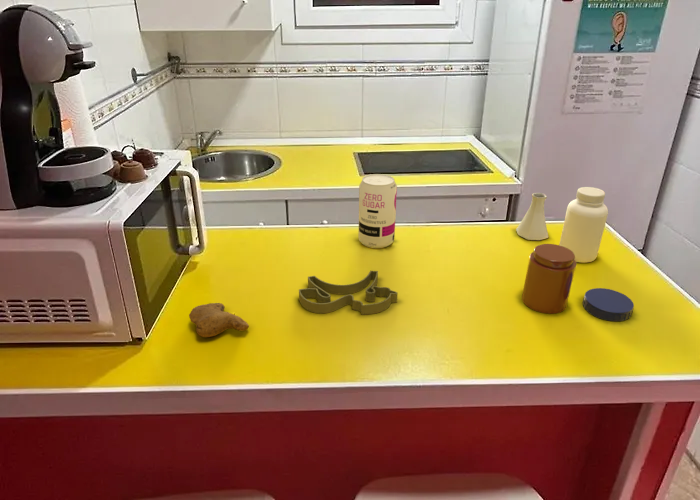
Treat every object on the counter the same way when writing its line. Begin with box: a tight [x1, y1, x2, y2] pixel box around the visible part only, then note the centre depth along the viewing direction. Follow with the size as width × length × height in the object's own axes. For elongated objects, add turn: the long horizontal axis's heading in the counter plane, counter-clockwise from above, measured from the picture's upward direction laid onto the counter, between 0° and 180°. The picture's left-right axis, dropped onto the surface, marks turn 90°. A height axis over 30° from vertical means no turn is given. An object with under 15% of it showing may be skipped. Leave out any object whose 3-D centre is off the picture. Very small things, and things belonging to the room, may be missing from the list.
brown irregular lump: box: [188, 302, 250, 338], centre depth 90 cm, size 10×10×4 cm
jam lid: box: [582, 287, 635, 322], centre depth 95 cm, size 8×8×2 cm
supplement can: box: [357, 173, 398, 249], centre depth 116 cm, size 8×8×15 cm
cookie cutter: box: [298, 270, 398, 316], centre depth 98 cm, size 18×12×2 cm, turn 100°
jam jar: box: [521, 243, 577, 315], centre depth 95 cm, size 8×8×10 cm
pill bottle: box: [558, 186, 609, 264], centre depth 111 cm, size 8×8×15 cm
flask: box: [515, 192, 549, 241], centre depth 121 cm, size 7×7×10 cm
